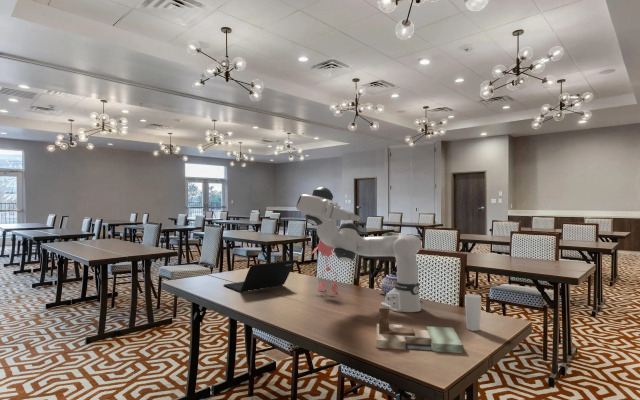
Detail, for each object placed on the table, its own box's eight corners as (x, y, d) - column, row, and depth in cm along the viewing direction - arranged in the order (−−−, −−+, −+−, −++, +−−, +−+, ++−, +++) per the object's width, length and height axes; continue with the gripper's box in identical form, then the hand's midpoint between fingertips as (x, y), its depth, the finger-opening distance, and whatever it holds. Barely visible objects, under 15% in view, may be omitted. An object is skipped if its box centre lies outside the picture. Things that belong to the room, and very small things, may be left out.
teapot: (370, 294, 230) (370, 270, 231) (383, 290, 242) (383, 267, 242) (406, 301, 214) (406, 275, 214) (418, 296, 225) (418, 272, 225)
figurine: (316, 287, 248) (316, 235, 247) (348, 293, 231) (348, 237, 231) (301, 292, 236) (300, 237, 235) (333, 299, 219) (333, 239, 219)
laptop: (265, 280, 272) (265, 253, 272) (295, 289, 243) (295, 260, 243) (222, 286, 251) (223, 257, 251) (250, 297, 222) (250, 265, 222)
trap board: (376, 347, 144) (376, 339, 144) (376, 330, 164) (376, 323, 164) (463, 353, 139) (463, 345, 139) (452, 334, 159) (452, 327, 159)
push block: (379, 333, 151) (379, 308, 151) (379, 328, 157) (379, 305, 157) (414, 335, 149) (414, 310, 149) (413, 330, 155) (413, 306, 155)
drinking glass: (467, 326, 171) (467, 293, 171) (483, 329, 167) (483, 295, 167) (462, 329, 166) (462, 295, 166) (478, 333, 161) (478, 298, 162)
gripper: (333, 217, 177) (361, 225, 174) (324, 217, 157) (356, 227, 154) (337, 204, 177) (365, 212, 174) (328, 203, 157) (360, 212, 154)
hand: (360, 219), depth 164 cm, fingers open, 8 cm apart
